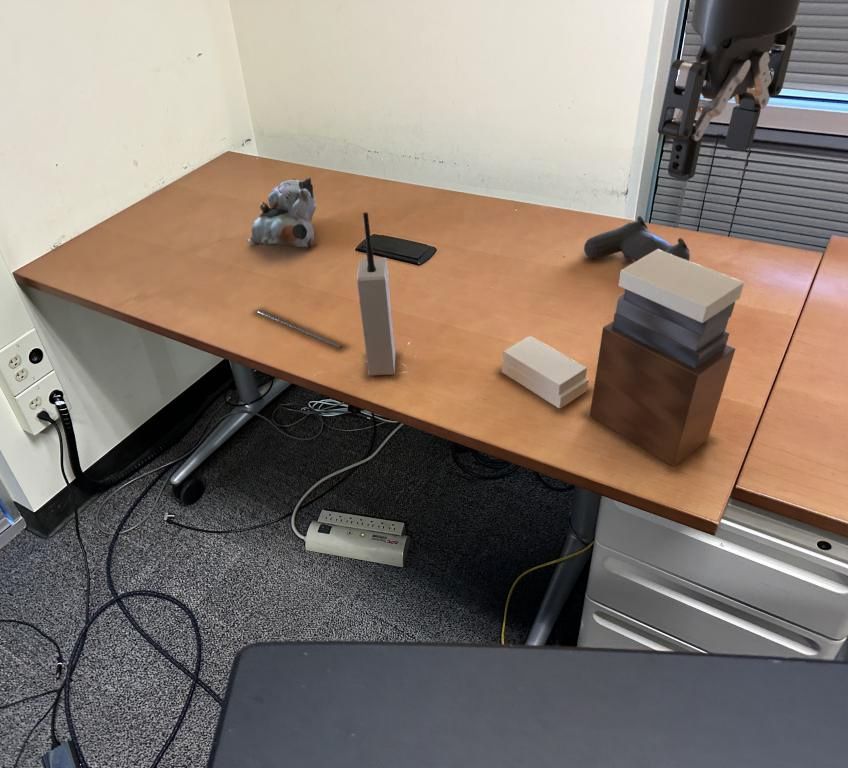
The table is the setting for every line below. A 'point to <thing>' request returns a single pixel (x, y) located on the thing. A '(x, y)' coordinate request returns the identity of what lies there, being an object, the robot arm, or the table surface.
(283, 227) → the lucky cat figurine
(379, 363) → the vintage mobile phone
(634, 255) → the gaming controller
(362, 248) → the table surface
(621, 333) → the brown wooden tall block
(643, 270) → the white book
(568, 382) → the white stack
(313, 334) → the rod
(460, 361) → the table surface
